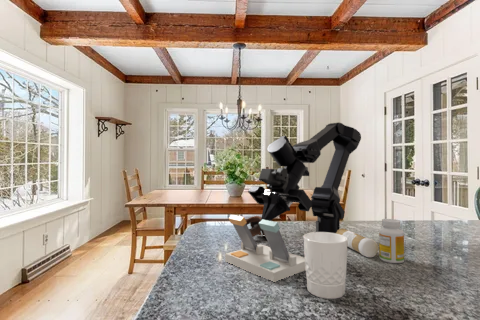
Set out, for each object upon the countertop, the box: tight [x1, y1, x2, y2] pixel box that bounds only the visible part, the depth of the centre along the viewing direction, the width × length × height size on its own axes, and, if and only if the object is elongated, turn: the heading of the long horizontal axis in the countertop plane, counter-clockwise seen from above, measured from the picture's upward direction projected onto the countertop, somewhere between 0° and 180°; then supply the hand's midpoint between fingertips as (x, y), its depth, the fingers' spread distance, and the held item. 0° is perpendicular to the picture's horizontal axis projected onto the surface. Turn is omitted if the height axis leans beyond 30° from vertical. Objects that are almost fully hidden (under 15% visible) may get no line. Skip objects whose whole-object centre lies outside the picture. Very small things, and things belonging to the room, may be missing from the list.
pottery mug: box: [245, 215, 265, 238], centre depth 89 cm, size 12×10×8 cm
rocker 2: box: [259, 219, 290, 263], centre depth 61 cm, size 1×4×10 cm, turn 41°
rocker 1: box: [228, 214, 258, 252], centre depth 68 cm, size 1×4×10 cm
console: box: [224, 241, 306, 283], centre depth 66 cm, size 12×16×4 cm
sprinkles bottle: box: [336, 227, 379, 258], centre depth 77 cm, size 5×5×13 cm
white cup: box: [303, 231, 348, 300], centre depth 52 cm, size 8×8×10 cm
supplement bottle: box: [378, 218, 405, 264], centre depth 69 cm, size 5×5×10 cm
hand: (262, 222), depth 72 cm, fingers closed
